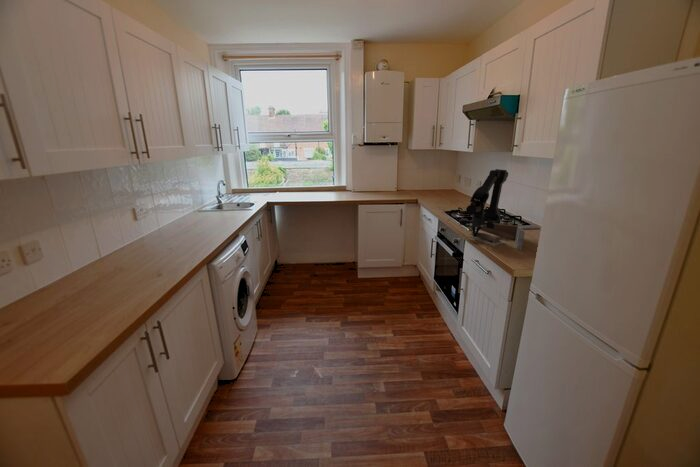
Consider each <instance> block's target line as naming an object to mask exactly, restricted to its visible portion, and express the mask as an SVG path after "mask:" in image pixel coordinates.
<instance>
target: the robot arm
mask: <svg viewBox="0 0 700 467" xmlns="http://www.w3.org/2000/svg"><path fill="white" fill-rule="evenodd" d="M508 177H509V172H508V170H507V169H499V168H495V169H491V170H490V171H489V174H488V176H487V177H486V179H485V180H484V182H483V184H482V185H481V186H479V187H477V189H476V190H475V191H474V192H473V194H472V196H471V199H470V201H469V202H470V204H469V205H468V206H467V207H466V210H465V211H466V213H467V214H468V215H470V216H472V217H471V220H469V219H468V218H464V217H462V218H461V219H460V220H459V225H461V226H466V225H469V228H471V230H472V231H473V234H474V237H476V235H477V233H478V231H479V230H480V229H483V226H487V228H492V229H494V223H497V224H501V221H502V220H501V216H500V209H499V202H500V197H501V192H502V187H503V185H504V184H505V182H506V181H507V180H508ZM492 187H493V188H492ZM491 190H492V191H491ZM490 191H491V197H490ZM489 197H490V201H489V202H490V203H489V206H488V208H486V209H485V207H486V204H487V202H488V200H489ZM485 222H487V223H485ZM475 230H476V233H475Z"/></svg>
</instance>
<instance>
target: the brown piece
mask: <svg viewBox="0 0 700 467" xmlns="http://www.w3.org/2000/svg"><path fill="white" fill-rule="evenodd" d="M485 223H487V222H486V221H485ZM480 230H482V231H485V232H488V233H491V234H493V235H496V236H499V237H501V239H502V238H503V239H510V240H514V242H515V246H516V250H517V251H522V250H523V249H522V248H523V244H524V239H525V234H526V233H525V230H524V227H523V223H517V225H513V224H505V223H504V224H503V223H500V224H497V223H494V229H492V228H487V226H483V229H480Z"/></svg>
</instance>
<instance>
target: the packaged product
mask: <svg viewBox="0 0 700 467" xmlns="http://www.w3.org/2000/svg"><path fill="white" fill-rule="evenodd" d="M476 230H477V229H475V233H476ZM468 237H469V238H471V239H474V240H476V241H479V242H481V243H484V244H487V245H490V246H492V247H495V246H499V245H502V244H505V242H506V241H502V240H501V239H502V238H501V237H499V236H496V235H493V234H491V233H488V232H485V231H482V230H479V231H478V233H477V235H476V237H474V234H473V230H472V231H471V233H470V234H469V236H468Z"/></svg>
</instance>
